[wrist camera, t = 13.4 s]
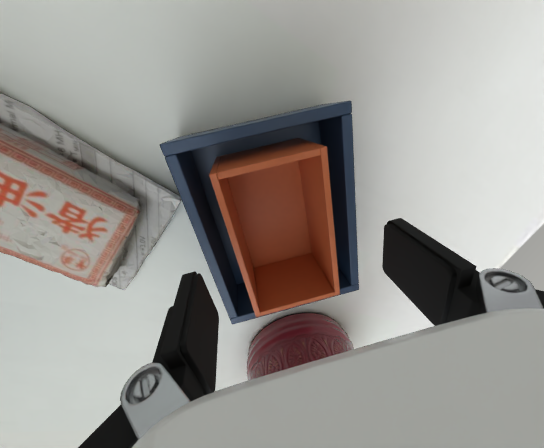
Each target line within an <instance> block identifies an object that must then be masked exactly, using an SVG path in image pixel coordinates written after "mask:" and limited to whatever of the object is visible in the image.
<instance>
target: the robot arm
mask: <svg viewBox="0 0 544 448" xmlns="http://www.w3.org/2000/svg"><path fill="white" fill-rule="evenodd" d="M475 269H476V266H475V265H473V264H472V263H470V262H469V261H467V260H465V259H464V258H462V257H461V256H459V255H458V254H456V253H455V252H453V251H451V250H450V249H448V248H447V247H445V246H444V245H442V244H441V243H439V242H437V241H436V240H434V239H433V238H431V237H430V236H428V235H427V234H425V233H423V232H422V231H420V230H419V229H417V228H416V227H414V226H413V225H411V224H409V223H408V222H406V221H405V220H403V219H401V218H398V219H394V220H391V221H388V222H387V225H385V226H384V245H383V270H384V272H385V274H386V275H387V276H388V277H389V278H390V279H391V280H392V281H393V282H394V283H395V284H396V285H397V286H398V287H399V288H400V290H401V291H402V292H403V293H404V294H405V295H406V296H407V297H408V298H409V299H410V300H411V301H412V302H413V303H414V304H415V305H416V306H417V308H418V309H419V310H420V311H421V312H422V313H423V314H424V315H425V316H426V317H427V318H428V319H429V320H430V321H431V322H432V323H433V324H434V325H435V326H434V327H430V328H427V329H423V330H420V331H416V332H413V333H409V334H405V335H402V336H398V337H395V338H391V339H388V340H384V341H381V342H378V343H374V344H371V345H367V346H364V347H360V348H357V349H353V350H350V351H347V352H343V353H340V354H336V355H333V356H329V357H326V358H323V359H319V360H316V361H312V362H309V363H306V364H302V365H299V366H295V367H292V368H289V369H285V370H282V371H279V372H275V373H272V374H269V375H265V376H262V377H259V378H255V379H252V380H249V381H246V382H243V383H240V384H236V385H233V386H230V387H227V388H224V389H221V390H218V391H215V383H216V363H217V344H218V325H219V316H218V312H217V309H216V307H215V305H214V303H213V300H212V298H211V296H210V294H209V291H208V289H207V287H206V285H205V282H204V280H203V278H202V276H201V274H197V273H196V272H191V273H188V274H184V275H182V278H181V281H180V285H179V288H178V292H177V296H176V299H175V303H174V306H172V307H170V308H169V310H168V313H167V316H166V319H165V323H164V326H163V329H162V333H161V336H160V339H159V342H158V346H157V349H156V352H155V356H154V359H153V362H152V363H150V364H147V365H145V366H143V367H141V368H140V369H138V370H137V371H136V372H135V373H134V374H133V375H132V376H131V377H130V378H129V379H128V381H127V382H126V384H125V385H124V387H123V390H122V392H121V397H120V401H121V405H120V406H119V407H118V408H117V409H116V410H115V411H114V412H113V413H112V414H111V415H110V416H109V417H108V418H107V419H106V420H105V421H104V422H103V423H102V424H101V425H100V426H99V427H98V428H97V429H96V430H95V431H94V432H93V433H92V434H91V435H90V436H89V437H88V438H87V439H86V440H85V441H84V442H83V443H82V444H81V445H80V446H79V447H78V448H544V291H539V290H535V288H534V286H533V285H532V283H531V282H530V281H529V280H527V279H526V278H525V277H523V276H521V275H519V274H517V273H514V272H512V271H508V270H504V269H496V268H492V269H486V270H483V271H482V272H481V273H479V272H478V271H476V270H475ZM214 391H215V392H214Z"/></svg>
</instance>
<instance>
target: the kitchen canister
mask: <svg viewBox="0 0 544 448" xmlns="http://www.w3.org/2000/svg"><path fill="white" fill-rule="evenodd" d="M353 349H354V348H353V345H352V342H351V341H350V339H349V337H348V335H347V334H346V332H345V331H344V330H343V329H342V328H341V327H340V325H339V324H338V323H337V322H336V321H335V320H333V319H331V318H330V317H327V316H325V315H321V314H315V313H301V314H295V315H290V316H287V317H284V318H281V319H279V320H277V321H275V322H273V323H271V324H270V325H268V326H267V327H265V328H264V329H263V330H262V331H261V332H260V333H259V334H258V335H257V336H256V337H255V339H254V340H253V342H252V344H251V346H250V349H249V357H248V360H247V376H248V380H252V379H255V378H259V377H262V376H265V375H269V374H272V373H275V372H279V371H282V370H285V369H289V368H292V367H295V366H299V365H302V364H306V363H309V362H312V361H316V360H319V359H323V358H326V357H329V356H333V355H336V354H340V353H343V352H347V351H350V350H353Z"/></svg>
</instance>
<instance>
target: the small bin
mask: <svg viewBox="0 0 544 448" xmlns="http://www.w3.org/2000/svg"><path fill="white" fill-rule="evenodd" d="M209 176H210V179H211V182H212V185H213V188H214V191H215V194H216V197H217V200H218V204H219V207H220V210H221V213H222V216H223V219H224V222H225V225H226V228H227V231H228V234H229V237H230V240H231V243H232V246H233V249H234V252H235V255H236V258H237V261H238V264H239V267H240V270H241V273H242V276H243V279H244V282H245V286H246V289H247V292H248V295H249V298H250V301H251V304H252V307H253V310H254V313H255V316H256V317H259V316H263V315H267V314H270V313H274V312H278V311H281V310H285V309H289V308H292V307H296V306H299V305H303V304H307V303H310V302H314V301H318V300H321V299H325V298H329V297H332V296H335V295H340V288H339V277H338V266H337V254H336V243H335V232H334V221H333V210H332V198H331V187H330V176H329V165H328V154H327V147H326V146H323V145H320V144H317V143H314V142H310V141H307V140H304V139H301V138H295V139H291V140H287V141H282V142H278V143H274V144H270V145H265V146H261V147H257V148H252V149H248V150H244V151H240V152H235V153H231V154H227V155H223V156H218V157H216V159H215V161H214V164H213V166H212V169H211V171H210V174H209Z"/></svg>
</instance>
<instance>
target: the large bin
mask: <svg viewBox="0 0 544 448" xmlns="http://www.w3.org/2000/svg"><path fill="white" fill-rule="evenodd" d="M351 113H352V104H351V101H344V102H337V103H330V104H322V105H318V106H314V107H309V108H305V109H300V110H296V111H292V112H287V113H283V114H278V115H274V116H270V117H265V118H261V119H256V120H252V121H248V122H243V123H239V124H234V125H230V126H226V127H221V128H217V129H213V130H208V131H204V132H199V133H195V134H191V135H186V136H182V137H178V138H175V139H172V140H170V141H167V142H164V143H162V144H160V147H161V150H162V152H163V154H164V156H166V157H165V159H166V162H167V164H168V167H169V169H170V172H171V174H172V177H173V179H174V182H175V184H176V187H177V189H178V192H179V194H180V197H181V199H182V202H183V204H184V207H185V209H186V211H187V214H188V216H189V219H190V221H191V224H192V226H193V229H194V231H195V234H196V236H197V239H198V241H199V244H200V246H201V249H202V251H203V254H204V256H205V259H206V261H207V264H208V266H209V268H210V271H211V273H212V276H213V278H214V281H215V283H216V286H217V288H218V291H219V293H220V296H221V298H222V301H223V303H224V306H225V308H226V311H227V313H228V316H229V318H230V321H231V323H232V324H236V323H239V322H243V321H247V320H250V319H254V318H258V317H256V316H255V313H254V310H253V307H252V304H251V301H250V298H249V295H248V292H247V289H246V286H245V282H244V279H243V276H242V273H241V270H240V267H239V264H238V261H237V258H236V255H235V252H234V249H233V246H232V243H231V240H230V237H229V234H228V231H227V228H226V225H225V222H224V219H223V216H222V213H221V210H220V207H219V204H218V200H217V197H216V194H215V191H214V188H213V185H212V182H211V179H210V176H209V174H210V171H211V169H212V166H213V164H214V161H215V159H216V157H218V156H223V155H227V154H231V153H235V152H240V151H244V150H248V149H252V148H257V147H261V146H265V145H270V144H274V143H278V142H282V141H287V140H291V139H295V138H301V139H304V140H307V141H310V142H314V143H317V144H320V145H323V146H326V147H327V154H328V165H329V176H330V187H331V198H332V210H333V221H334V232H335V243H336V254H337V266H338V277H339V288H340V295H341V294H345V293H349V292H352V291H356V290H359V284H358V283H359V280H358V255H357V230H356V205H355V179H354V154H353V129H352V114H351ZM335 296H338V295H335ZM332 297H334V296H332ZM329 298H330V297H329ZM325 299H327V298H325ZM321 300H323V299H321ZM318 301H319V300H318ZM314 302H316V301H314ZM310 303H312V302H310ZM307 304H309V303H307ZM303 305H305V304H303ZM299 306H301V305H299ZM296 307H298V306H296ZM292 308H294V307H292ZM289 309H290V308H289ZM285 310H287V309H285ZM281 311H283V310H281ZM278 312H279V311H278ZM274 313H276V312H274ZM270 314H272V313H270ZM267 315H269V314H267ZM263 316H265V315H263ZM259 317H261V316H259Z"/></svg>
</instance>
